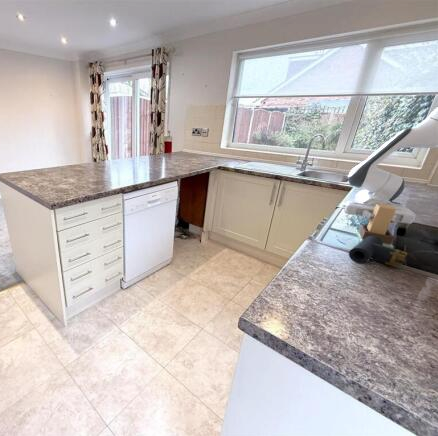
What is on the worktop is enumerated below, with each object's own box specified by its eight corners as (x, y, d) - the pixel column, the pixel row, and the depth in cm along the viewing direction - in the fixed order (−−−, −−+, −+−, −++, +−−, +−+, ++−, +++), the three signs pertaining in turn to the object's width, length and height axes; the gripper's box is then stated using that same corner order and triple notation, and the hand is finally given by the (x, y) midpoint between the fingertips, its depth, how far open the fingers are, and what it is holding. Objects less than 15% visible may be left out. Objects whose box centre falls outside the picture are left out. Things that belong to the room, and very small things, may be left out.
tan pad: (366, 227, 95) (376, 203, 91) (381, 230, 93) (392, 205, 89) (369, 232, 91) (379, 207, 87) (384, 235, 89) (396, 209, 85)
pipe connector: (412, 246, 78) (400, 260, 69) (405, 260, 80) (393, 276, 71) (366, 233, 86) (351, 244, 78) (361, 246, 88) (346, 259, 80)
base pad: (354, 231, 100) (358, 222, 98) (383, 236, 96) (387, 227, 94) (360, 243, 90) (364, 233, 89) (392, 249, 86) (397, 239, 85)
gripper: (344, 195, 104) (349, 205, 92) (409, 205, 94) (424, 216, 83) (339, 209, 106) (343, 220, 95) (402, 220, 97) (415, 233, 86)
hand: (381, 218), depth 89 cm, fingers closed on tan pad, 4 cm apart
